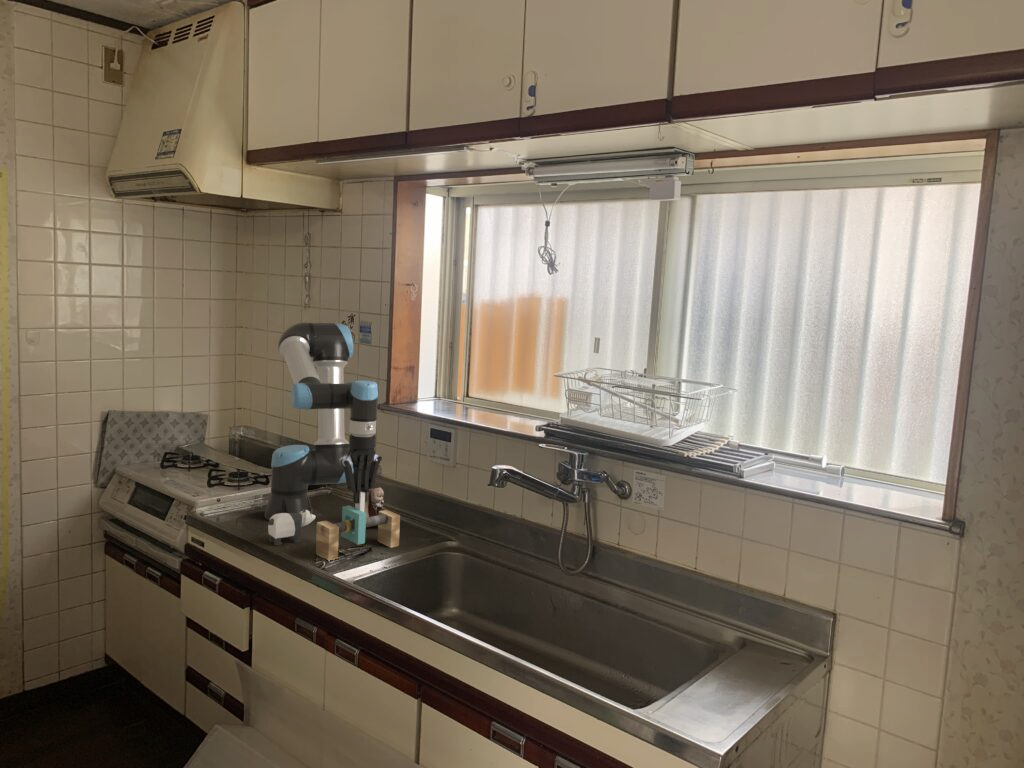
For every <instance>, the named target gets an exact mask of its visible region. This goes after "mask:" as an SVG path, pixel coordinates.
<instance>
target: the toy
mask: <svg viewBox="0 0 1024 768" xmlns="http://www.w3.org/2000/svg"><path fill="white" fill-rule="evenodd" d="M369 490H370V491H369V492H367V501H366V502H365V508H364V512H365V513H366V518H367V517H372V516H378V515H379V511H383V510H388V509H387V508H386V507H385V506H384V503H386V500H384V496H385V492H384V490H383V488H382V487H376V488H373V489H369ZM372 500H374V506H373V502H372ZM367 528H368V527H366V529H367ZM366 529H365V530H366Z"/></svg>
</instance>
